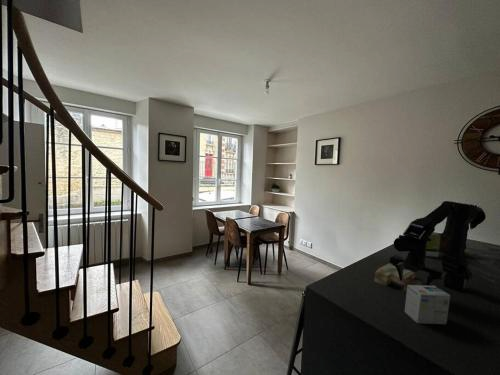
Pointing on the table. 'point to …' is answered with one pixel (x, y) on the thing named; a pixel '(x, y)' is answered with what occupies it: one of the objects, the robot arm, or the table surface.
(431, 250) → the tea box
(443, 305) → the light bulb box
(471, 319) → the table surface
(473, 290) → the table surface
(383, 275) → the oak block
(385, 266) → the plinth
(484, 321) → the table surface
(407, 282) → the walnut block
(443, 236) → the glass bottle
